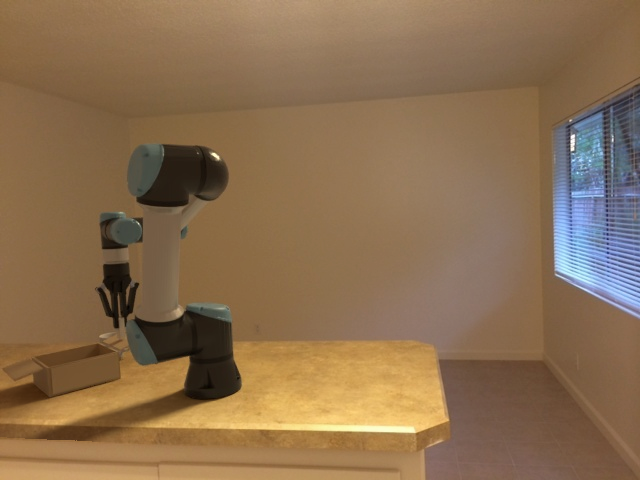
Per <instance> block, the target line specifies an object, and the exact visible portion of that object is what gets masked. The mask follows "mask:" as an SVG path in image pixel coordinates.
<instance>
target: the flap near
mask: <svg viewBox="0 0 640 480" xmlns="http://www.w3.org/2000/svg"><path fill="white" fill-rule="evenodd" d="M1 370H2V371H3V372H4V373H5V374H6V375H7V376H9V378H10V379H11V380H13V381H14V382H17V381H19V380H22V379H24V378H27V377H29V376H32V375H33V374H34V373H36V372H39V371H41V370H43V368H42V367H41V366H39V365H38V364H36V363H35V362H34V361H32V358H29V357H26V358H24V359H21V360H19V361H16V362H15V363H12V364H9V365H6V366H4V367H2V368H1Z"/></svg>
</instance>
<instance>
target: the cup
mask: <svg viewBox="0 0 640 480" xmlns="http://www.w3.org/2000/svg"><path fill="white" fill-rule="evenodd" d="M116 334H117V331H115V332H114V331H113V332H107V333H102V334H100V335H99V336H98V343H101V344H103V345H105V346H108V347H110V348H112V349H114V350H116V351H118V352H119V359H121V358H122V357H123V356H124V354H125V353H127V352H131V351H130V348H129V347H128V348H126V349H124V350H122V351H120V350H118V349H116V348H114V347H112V346H109V345H107V344H105V343H103V341H104V340H106V339H108V338H110V337H112V336H114V335H116Z"/></svg>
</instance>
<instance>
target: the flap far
mask: <svg viewBox="0 0 640 480" xmlns="http://www.w3.org/2000/svg"><path fill="white" fill-rule="evenodd" d="M103 343H105V344H107V345H109V346H112V347H114V348H116V349H118V350H120V351H122V350H124V349H128V348H129V344H128V340H127V335H126V331H125V338H124V339H119V338H117V334H116V335H114V336H112V337H110V338H108V339H106V340H104V341H103Z"/></svg>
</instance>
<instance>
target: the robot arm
mask: <svg viewBox="0 0 640 480" xmlns="http://www.w3.org/2000/svg"><path fill="white" fill-rule="evenodd" d="M229 179H230V171H229V167H228V165H227V163H226V161H225V160H224V158H223V157H222V156H221V154H220V153H219V152H217V151H215V150H214V149H212V148H210V147H207V146H205V145H196V144H195V145H191V144H190V145H187V144H171V143H161V142H160V143H159V142H156V143H143V144H139V145H138V146H136V147H135V148H134V149H133V150H132V153H131V155H130V157H129V160H128V164H127V171H126V181H127V189H128V192H129V193H130V195H131V196H133V197H136V198H135V199H136V200H135V202H136V204H137V205H138V206H140V208H141V209H142V217H141V216H139V217H127V215H126V213H125V212H124V211H108V212H103V211H102V212H100V214H99V223H98V225H99V230H100V233H99V234H100V243H101V256H102V262H103V264H102V272H103V273H102V274H103V279H102V283H101V284H100V285H99V286H96V287H95V288H94V290H95V292H96V293H97V294H98V295H99V298H100V302H101V304H102V308H103V311H104V313H105V316H106V317H108V318H111V319H112V326H113V328H114V329H115V330H116V332H117V338H119V339H124V338H125V332H126V335H127V340H128V344H129V347H128V348H130V351H129V352H130V353H131V356H132V357H133V359H134V362H136V364H138V365H140V366H142V367H143V366H145V367H146V366H151V365H158V364H161V363H165V362H170V361H174V360H179V359H182V358H187V357H189V360H188V361H189V363H188V364H189V365H188V368H187V372H186V376H185V380H184V383H183V387H184V389H183V390H184V391H183V392H184V394H185V396H187V397H189V398H193V399H197V400H198V399H199V400H211V399H217V398H218V399H220V398H222V397H226V396H230V395H233V394H235V393H236V392H238V391H239V390H241V388H242V386H243V385H242V383H243V381H242V376H241V374H240V373H241V372H240V371H239V368H238V366H237V363H236V361H235V358H234V357H235V355H234V338H233V337H234V336H233V319H232V312H231V309H230V307H229V306H228V305H226V304H222V303H215V302H192V303H187V304H186V305H185V308H184V307H183V306H182V305H180V303H179V294H180V293H179V290H180V289H179V287H180V266H181V265H180V263H181V240H184V239H186V237H187V235H188V230H189V225H188V224H189V223H190V222H191V221H192V220H193V219H194V218H195V217H196V216H197V215H198V214H199V213H200V212H201V211H202V210H203V209H204V208H205V206H207V204H208V203H209V202H213V201H216V200H217V199H219V197H220V196H222V195H223V193H224V192H225V191H226V189H227V187H228V184H229ZM141 243H142V255H141V256H142V260H141V303H140V304H139V306H137V307H136V308H135V307H134V306H135V302H136V296H137V290H138V288H139V286H140V283H139V282H137V281H135V280H133V279H132V277H131V270H130V262H129V260H130V255H129V246H130V245H133V244H141ZM128 288H129V289H128ZM106 290H107V291H108V292H109V296H110V303H109V298H108V296H107V294H106ZM127 290H128V295H127ZM127 296H128V297H127ZM134 308H135V310H134ZM133 313H134V319H129V320H128V317H129V315H130V314H133Z"/></svg>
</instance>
